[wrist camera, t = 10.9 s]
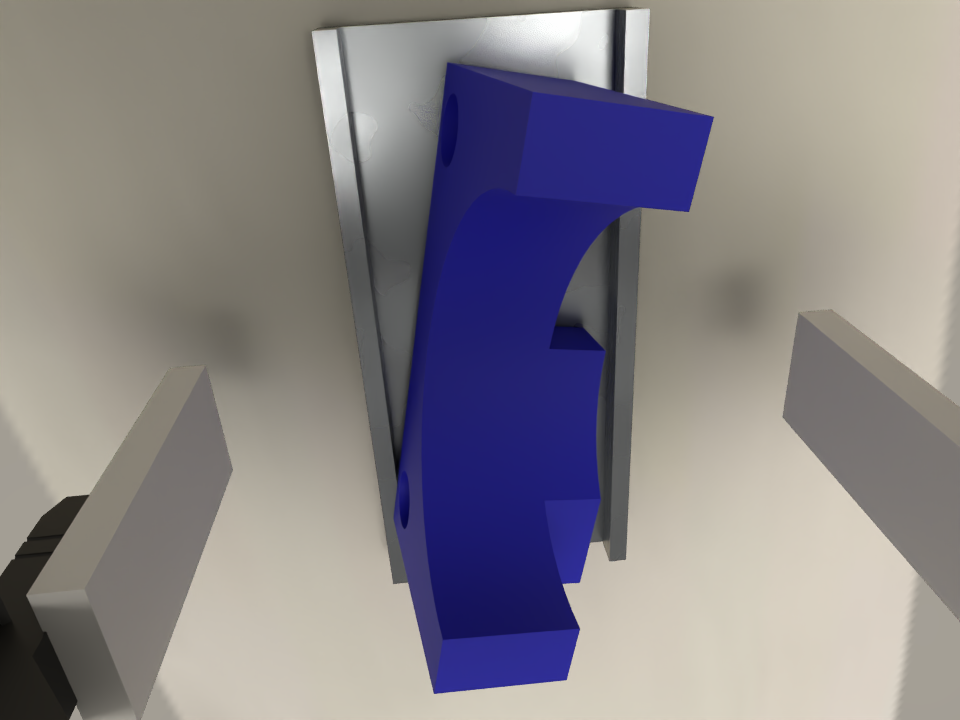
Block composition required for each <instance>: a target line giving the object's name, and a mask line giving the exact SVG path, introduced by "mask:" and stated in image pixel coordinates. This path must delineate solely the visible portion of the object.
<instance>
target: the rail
mask: <svg viewBox="0 0 960 720" xmlns="http://www.w3.org/2000/svg"><path fill="white" fill-rule="evenodd" d="M649 19H650V9H649V8H638V7H624V8H609V9H594V10H579V11H564V12H549V13H534V14H519V15H504V16H489V17H474V18H459V19H444V20H429V21H414V22H399V23H384V24H369V25H354V26H339V27H324V28H317V29H315V30H313V31H311V32H312V38H313V45H314V52H315V59H316V65H317V72H318V79H319V86H320V92H321V99H322V106H323V113H324V119H325V126H326V133H327V140H328V146H329V153H330V160H331V167H332V173H333V180H334V187H335V194H336V200H337V207H338V214H339V221H340V227H341V234H342V241H343V248H344V254H345V261H346V268H347V275H348V281H349V288H350V295H351V302H352V308H353V315H354V322H355V329H356V335H357V342H358V349H359V356H360V362H361V369H362V376H363V383H364V390H365V396H366V403H367V410H368V417H369V423H370V430H371V437H372V444H373V450H374V457H375V464H376V471H377V477H378V484H379V491H380V498H381V504H382V511H383V518H384V525H385V531H386V538H387V545H388V552H389V558H390V565H391V572H392V579H393V584H397V583H407V582H408V579H407V575H406V571H405V566H404V562H403V558H402V553H401V549H400V545H399V540H398V536H397V532H396V527H395V523H394V519H393V518H394V509H395V501H396V492H397V484H398V475H399V467H400V458H401V450H402V441H403V433H404V425H405V416H406V408H407V399H408V391H409V382H410V374H411V365H412V357H413V348H414V340H415V331H416V323H417V314H418V306H419V298H420V289H421V281H422V272H423V264H424V255H425V247H426V238H427V230H428V221H429V213H430V204H431V196H432V187H433V179H434V170H435V162H436V154H437V145H438V137H439V128H440V120H441V111H442V103H443V94H444V86H445V77H446V69H447V62H450V63H457V64H463V65H470V66H477V67H484V68H491V69H498V70H504V71H511V72H518V73H525V74H532V75H539V76H546V77H552V78H559V79H566V80H573V81H578V82H582V83H586V84H589V85H593V86H597V87H601V88H605V89H609V90H612V91H616V92H620V93H624V94H628V95H632V96H635V97H639V98H643V99H646V88H647V65H648V42H649ZM640 225H641V207H638V208H635V209H632V210H631V211H629V212H627V213H625V214H623V215H621V216H620V217H618V218H617V219H616V220H614V221H613V222H612V223H610V224H609V225H608V226H607V227H606V228H605V229H604V230H603V231H602V232H601V233H600V234H599V235H598V237H597V238H596V239H595V240H594V242H593V243H592V244H591V245H590V247H589V248H588V250H587V251H586V253H585V255H584V256H583V258H582V259H581V261H580V263H579V265H578V267H577V268H576V270H575V272H574V274H573V277H572V279H571V281H570V283H569V285H568V288H567V290H566V293H565V296H564V298H563V301H562V304H561V307H560V310H559V313H558V316H557V320H556V323H555V326H558V327H581V328H584V329H585V330H586V331H587V332H588V333H589V334H590V335H591V336H592V337H593V338H594V339H595V340H596V341H597V342H598V343H599V344H600V345H601V346H602V348H603V349H604V350H605V351H606V352H605V357H604V362H603V368H602V373H601V379H600V387H599V395H598V407H597V427H596V448H597V468H598V479H599V488H600V496H601V501H600V505H599V509H598V512H597V516H596V520H595V524H594V528H593V532H592V536H591V540H590V543H591V542H600V541H603V544H604V547H605V550H606V553H607V556H608V558H609V561H617V560H626V545H627V522H628V499H629V476H630V454H631V431H632V408H633V385H634V362H635V339H636V316H637V293H638V271H639V248H640Z"/></svg>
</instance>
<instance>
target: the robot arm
mask: <svg viewBox="0 0 960 720" xmlns="http://www.w3.org/2000/svg"><path fill="white" fill-rule="evenodd" d="M783 418H784V419H785V421H786V422H787V423H788V424H789V425H790V426H791V428H792V429H793V430H794V431H795V432H796V433H797V434H798V436H799V437H800V438H801V439H802V440H803V441H804V443H805V444H806V445H807V446H808V447H809V448H810V449H811V451H812V452H813V453H814V454H815V455H816V456H817V458H818V459H819V460H820V461H821V462H822V463H823V464H824V466H825V467H826V468H827V469H828V470H829V471H830V472H831V474H832V475H833V476H834V477H835V478H836V479H837V481H838V482H839V483H840V484H841V485H842V486H843V487H844V489H845V490H846V491H847V492H848V493H849V494H850V496H851V497H852V498H853V499H854V500H855V501H856V502H857V504H858V505H859V506H860V507H861V508H862V509H863V511H864V512H865V513H866V514H867V515H868V516H869V517H870V519H871V520H872V521H873V522H874V523H875V524H876V526H877V527H878V528H879V529H880V530H881V531H882V532H883V534H884V535H885V536H886V537H887V538H888V539H889V540H890V542H891V543H892V544H893V545H894V546H895V547H896V549H897V550H898V551H899V552H900V553H901V554H902V555H903V557H904V558H905V559H906V560H907V561H908V562H909V564H910V565H911V566H912V567H913V568H914V569H915V570H916V572H917V573H918V574H919V575H920V576H921V577H922V579H923V580H924V581H925V582H926V583H927V584H928V585H929V587H930V588H931V589H932V590H933V591H934V592H935V593H936V594H937V596H938V597H939V598H940V599H941V600H942V601H943V603H944V604H945V605H946V606H947V607H948V608H949V610H950V611H951V612H952V613H953V614H954V615H955V617H956V618H957V619H958V620H959V621H960V407H959V406H958V405H956V404H955V403H954V402H952V401H951V400H950V399H949V398H947V397H946V396H945V395H943V394H942V393H941V392H939V391H938V390H937V389H935V388H934V387H933V386H932V385H930V384H929V383H928V382H926V381H925V380H924V379H922V378H921V377H920V376H918V375H917V374H916V373H914V372H913V371H912V370H911V369H909V368H908V367H907V366H905V365H904V364H903V363H901V362H900V361H899V360H897V359H896V358H895V357H893V356H892V355H891V354H890V353H888V352H887V351H886V350H884V349H883V348H882V347H880V346H879V345H878V344H876V343H875V342H874V341H872V340H871V339H870V338H869V337H867V336H866V335H865V334H863V333H862V332H861V331H859V330H858V329H857V328H855V327H854V326H853V325H852V324H850V323H849V322H848V321H846V320H845V319H844V318H842V317H841V316H840V315H838V314H837V313H836V312H834V311H833V310H832V309H831V310H820V311H808V312H799V313H798V319H797V326H796V332H795V339H794V345H793V352H792V359H791V365H790V372H789V378H788V385H787V391H786V398H785V404H784V411H783ZM232 470H233V469H232V465H231V461H230V457H229V453H228V449H227V446H226V442H225V438H224V434H223V430H222V426H221V422H220V418H219V414H218V411H217V407H216V403H215V399H214V395H213V391H212V387H211V383H210V379H209V375H208V372H207V368H206V365H199V366H188V367H176V368H169V370H168V372H167V373H166V375H165V376H164V378H163V379H162V381H161V383H160V384H159V386H158V387H157V389H156V391H155V392H154V394H153V395H152V397H151V398H150V400H149V402H148V403H147V405H146V406H145V408H144V410H143V411H142V413H141V414H140V416H139V417H138V419H137V421H136V422H135V424H134V425H133V427H132V429H131V430H130V432H129V433H128V435H127V436H126V438H125V440H124V441H123V443H122V444H121V446H120V447H119V449H118V451H117V452H116V454H115V455H114V457H113V459H112V460H111V462H110V463H109V465H108V466H107V468H106V470H105V471H104V473H103V474H102V476H101V478H100V479H99V481H98V482H97V484H96V485H95V487H94V489H93V490H92V492H91V493H90V495H82V496H71V497H66V498H65V499H63V500H62V501H61V502H60V503H58V504H57V505H56V506H55V507H53V508H52V509H51V510H49V511H48V512H47V513H46V514H45V515H43V516H42V517H41V519H40V520H39V521H38V523H37V524H36V526H35V527H34V529H33V530H32V531H31V533H30V534H29V536H28V537H27V542H24V543H23V544H22V546H21V547H20V549H19V550H18V552H17V553H16V555H15V559H14V560H11V562H10V563H9V565H8V566H7V567H6V569H5V570H4V572H3V573H2V575H1V576H0V720H69V719H70V717H71V714H72V712H73V710H74V708H75V706H76V705H77V708H78V710H79V712H80V714H81V716H82V718H83V720H141V718H142V715H143V713H144V710H145V707H146V705H147V702H148V699H149V696H150V694H151V691H152V688H153V685H154V683H155V680H156V677H157V675H158V672H159V669H160V666H161V664H162V661H163V658H164V656H165V653H166V650H167V647H168V645H169V642H170V639H171V637H172V634H173V631H174V628H175V626H176V623H177V620H178V617H179V615H180V612H181V609H182V607H183V604H184V601H185V598H186V596H187V593H188V590H189V588H190V585H191V582H192V579H193V577H194V574H195V571H196V568H197V566H198V563H199V560H200V558H201V555H202V552H203V549H204V547H205V544H206V541H207V539H208V536H209V533H210V530H211V528H212V525H213V522H214V519H215V517H216V514H217V511H218V509H219V506H220V503H221V500H222V498H223V495H224V492H225V490H226V487H227V484H228V481H229V479H230V476H231V473H232Z"/></svg>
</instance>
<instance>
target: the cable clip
mask: <svg viewBox="0 0 960 720" xmlns="http://www.w3.org/2000/svg"><path fill="white" fill-rule="evenodd" d="M713 118H714V117H712V116H708V115H704V114H701V113H697V112H693V111H689V110H685V109H681V108H678V107H674V106H670V105H666V104H662V103H658V102H655V101H651V100H647V99H643V98H639V97H635V96H632V95H628V94H624V93H620V92H616V91H612V90H609V89H605V88H601V87H597V86H593V85H589V84H586V83H582V82H578V81H573V80H566V79H559V78H552V77H546V76H539V75H532V74H525V73H518V72H511V71H504V70H498V69H491V68H484V67H477V66H470V65H463V64H457V63H450V62H447V69H446V77H445V86H444V94H443V103H442V111H441V120H440V128H439V137H438V145H437V154H436V162H435V170H434V179H433V187H432V196H431V204H430V213H429V221H428V230H427V238H426V247H425V255H424V264H423V272H422V281H421V289H420V298H419V306H418V314H417V323H416V331H415V340H414V348H413V357H412V365H411V374H410V382H409V391H408V399H407V408H406V416H405V425H404V433H403V441H402V450H401V458H400V467H399V475H398V484H397V492H396V501H395V509H394V518H393V519H394V523H395V527H396V532H397V536H398V540H399V545H400V549H401V553H402V558H403V562H404V566H405V571H406V575H407V579H408V584H409V588H410V592H411V597H412V601H413V605H414V610H415V614H416V618H417V622H418V627H419V631H420V635H421V640H422V644H423V648H424V653H425V657H426V661H427V666H428V670H429V674H430V679H431V683H432V687H433V692H434V694H437V693H446V692H456V691H466V690H475V689H485V688H495V687H505V686H514V685H524V684H534V683H543V682H553V681H563V680H567V676H568V672H569V669H570V665H571V661H572V657H573V653H574V650H575V646H576V642H577V638H578V634H579V630H580V628H579V625H578V623H577V621H576V619H575V616H574V614H573V612H572V610H571V607H570V604H569V602H568V599H567V596H566V594H565V591H564V588H563V584H566V583H580V580H581V576H582V572H583V568H584V564H585V560H586V556H587V552H588V548H589V544H590V540H591V536H592V532H593V528H594V524H595V520H596V516H597V512H598V509H599V505H600V501H601V496H600V488H599V479H598V468H597V448H596V427H597V407H598V395H599V387H600V379H601V373H602V368H603V362H604V357H605V352H606V351H605V350H604V349H603V348H602V346H601V345H600V344H599V343H598V342H597V341H596V340H595V339H594V338H593V337H592V336H591V335H590V334H589V333H588V332H587V331H586V330H585V329H584V328H581V327H558V326H555V323H556V320H557V316H558V313H559V310H560V307H561V304H562V301H563V298H564V296H565V293H566V290H567V288H568V285H569V283H570V281H571V279H572V277H573V274H574V272H575V270H576V268H577V267H578V265H579V263H580V261H581V259H582V258H583V256H584V255H585V253H586V251H587V250H588V248H589V247H590V245H591V244H592V243H593V242H594V240H595V239H596V238H597V237H598V235H599V234H600V233H601V232H602V231H603V230H604V229H605V228H606V227H607V226H608V225H609V224H610V223H612V222H613V221H614V220H616V219H617V218H618V217H620V216H621V215H623V214H625V213H627V212H629V211H631V210H632V209H635V208H638V207H642V208H653V209H663V210H674V211H684V212H689V210H690V206H691V202H692V199H693V195H694V191H695V187H696V183H697V179H698V176H699V172H700V168H701V164H702V160H703V157H704V153H705V149H706V145H707V141H708V137H709V134H710V130H711V126H712V122H713Z"/></svg>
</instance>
